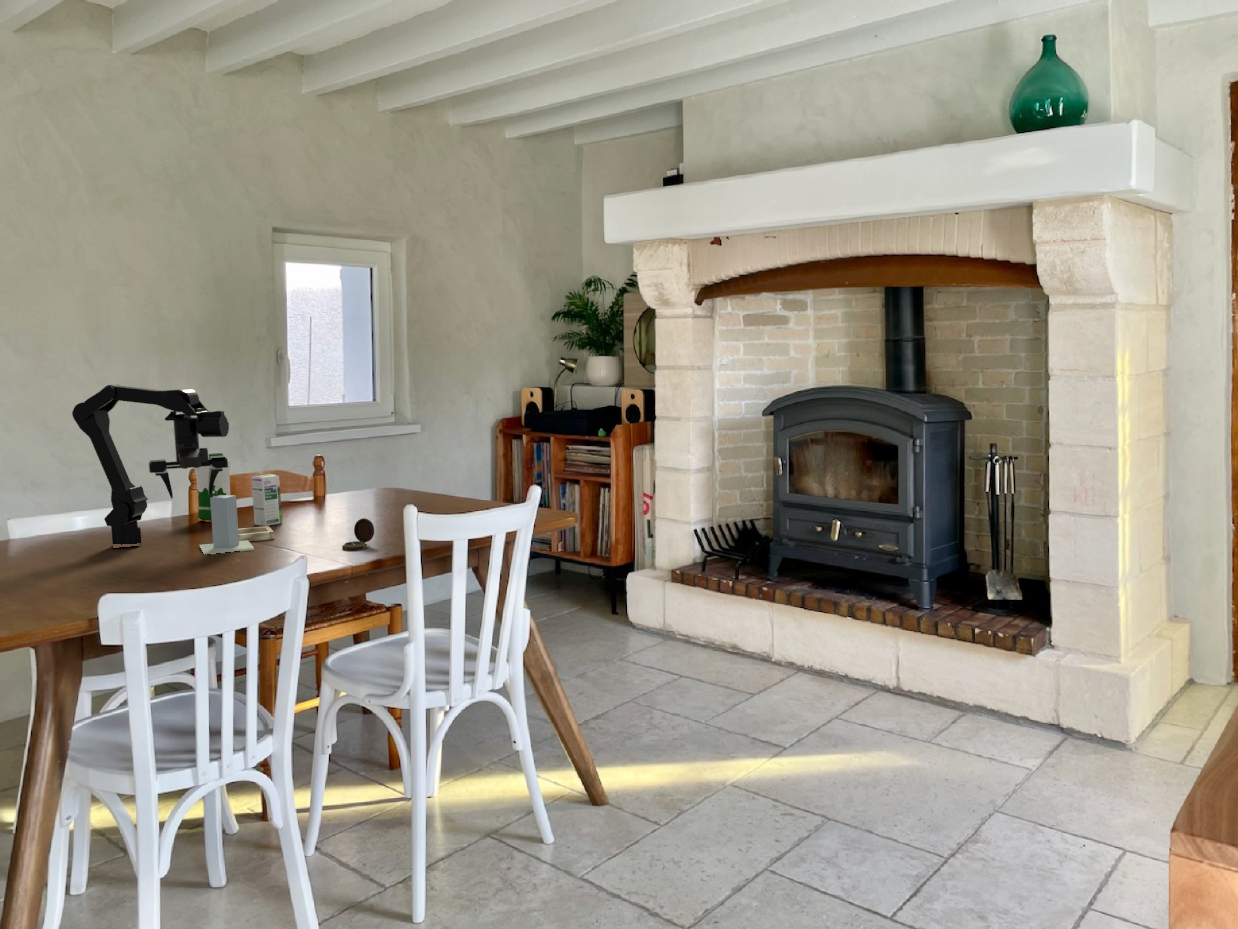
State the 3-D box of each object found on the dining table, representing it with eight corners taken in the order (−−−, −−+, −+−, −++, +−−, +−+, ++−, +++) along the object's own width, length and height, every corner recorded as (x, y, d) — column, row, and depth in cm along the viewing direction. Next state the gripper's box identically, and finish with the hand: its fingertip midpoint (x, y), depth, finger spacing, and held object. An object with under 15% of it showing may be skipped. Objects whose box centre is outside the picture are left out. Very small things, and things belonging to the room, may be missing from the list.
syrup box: (265, 526, 290) (262, 477, 289) (253, 524, 294) (250, 475, 292) (282, 523, 295) (279, 474, 293) (271, 521, 298) (268, 473, 297)
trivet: (203, 555, 251) (203, 552, 251) (199, 547, 262) (199, 544, 262) (254, 550, 257) (254, 547, 257) (247, 542, 267) (247, 540, 267)
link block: (213, 547, 258) (210, 497, 256) (223, 544, 262) (220, 495, 260) (229, 548, 257) (226, 498, 255) (239, 544, 261) (235, 495, 260)
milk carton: (237, 518, 306) (233, 453, 303) (217, 523, 297) (213, 456, 295) (213, 517, 308) (208, 452, 306) (192, 522, 300) (188, 456, 297)
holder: (235, 542, 267) (235, 535, 267) (231, 536, 276) (230, 529, 275) (274, 538, 271) (274, 531, 271) (268, 533, 280) (268, 526, 280)
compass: (336, 550, 255) (335, 522, 254) (358, 544, 262) (356, 517, 261) (361, 552, 252) (359, 524, 251) (382, 546, 259) (380, 519, 258)
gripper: (148, 442, 249) (153, 504, 251) (228, 437, 258) (232, 497, 260) (146, 438, 259) (151, 498, 261) (223, 434, 268) (227, 492, 269)
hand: (190, 496), depth 263 cm, fingers open, 9 cm apart
